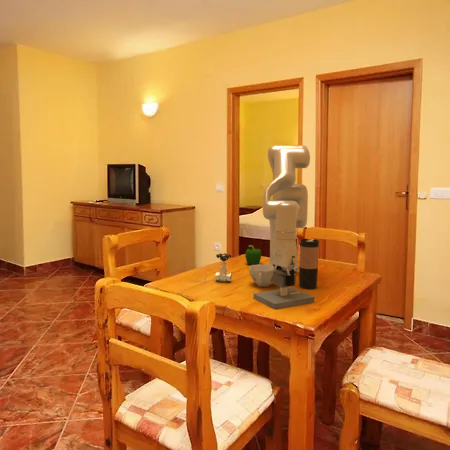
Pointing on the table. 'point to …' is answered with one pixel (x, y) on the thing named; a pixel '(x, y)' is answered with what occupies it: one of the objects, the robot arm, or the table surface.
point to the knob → (281, 277)
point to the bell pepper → (253, 256)
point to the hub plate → (283, 297)
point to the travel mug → (308, 263)
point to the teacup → (262, 274)
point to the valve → (223, 269)
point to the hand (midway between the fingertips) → (284, 282)
